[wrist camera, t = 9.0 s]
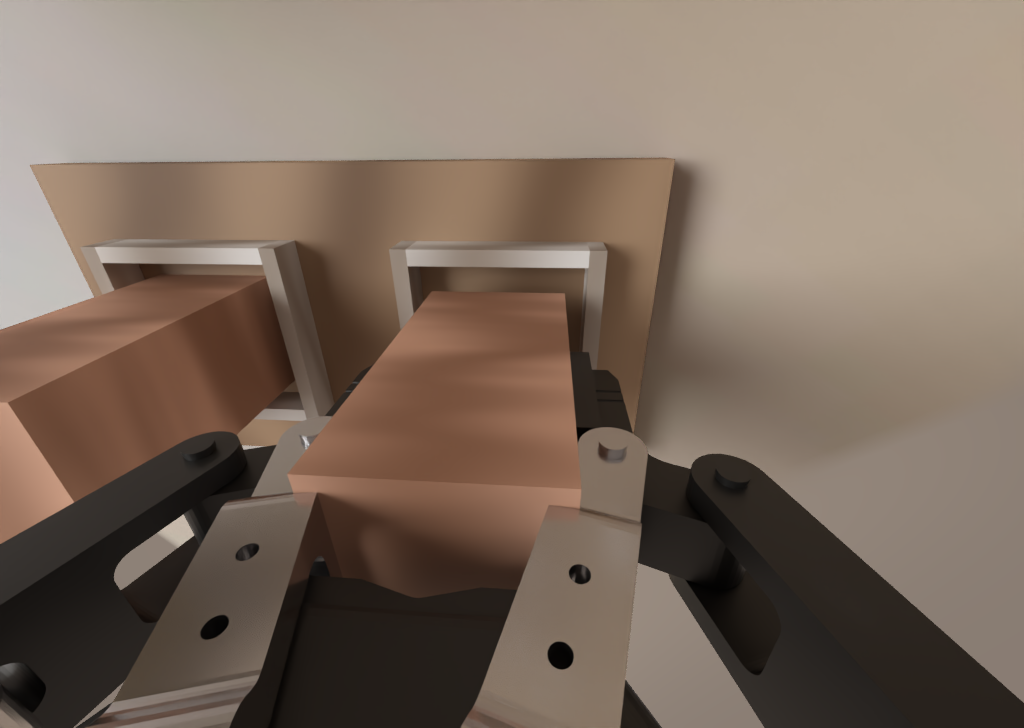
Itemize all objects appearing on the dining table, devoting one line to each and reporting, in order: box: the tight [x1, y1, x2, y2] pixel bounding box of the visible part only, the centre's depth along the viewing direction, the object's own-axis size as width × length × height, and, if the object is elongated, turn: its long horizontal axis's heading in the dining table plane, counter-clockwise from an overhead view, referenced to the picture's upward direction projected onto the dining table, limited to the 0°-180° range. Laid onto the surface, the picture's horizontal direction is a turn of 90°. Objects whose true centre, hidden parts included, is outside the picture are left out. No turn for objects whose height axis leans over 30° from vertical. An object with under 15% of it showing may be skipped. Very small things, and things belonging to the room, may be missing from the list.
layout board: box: [0, 158, 675, 544], centre depth 12 cm, size 20×11×9 cm, turn 91°
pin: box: [287, 291, 581, 598], centre depth 10 cm, size 4×4×8 cm
